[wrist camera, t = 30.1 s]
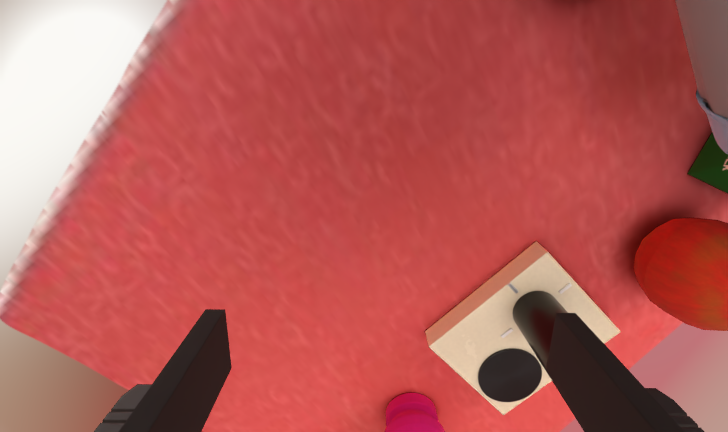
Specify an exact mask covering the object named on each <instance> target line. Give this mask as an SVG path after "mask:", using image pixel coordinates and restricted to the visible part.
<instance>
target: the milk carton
mask: <svg viewBox="0 0 728 432" xmlns="http://www.w3.org/2000/svg"><path fill="white" fill-rule="evenodd" d="M688 174H689V175H691V176H693V177H695V178H697V179H699V180H701V181H703V182H705V183H707V184H709V185H711V186H713V187H715V188H717V189H719V190H722V191H724V192H726V193H728V154H726V153H725V152H724V151H723V150H722V149H721V148H720V147H719V145H718V144H717V142H716V140H715V138H714V135H713V132H712V133H711V135H710V137H709V138H708V140H707V142H706V143H705V145H704V147H703V148H702V150H701V152H700V154H699V155H698V157H697V159H696V160H695V162H694V164H693V165H692V167H691V169H690V170H689V172H688Z"/></svg>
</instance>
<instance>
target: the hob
mask: <svg viewBox="0 0 728 432" xmlns="http://www.w3.org/2000/svg"><path fill="white" fill-rule="evenodd" d="M532 291H544V292H547V293H550V294H551V295H553V296H554V297H555V298H556V300H557V301H558V302H559V303H560V304H561V305H562V306H563V307H564V309H565V310H566V311H567V312H568V313H576V314H577V315H578V316H579V317H580V318H581V319H582V321H583V322H584V323H585V324H586V325H587V326H588V327H589V328H590V329H591V330H592V331H593V332H594V334H595V335H596V336H597V337H598V338H599V339H600V340H601V341H602V342H603V343H606V342H607V341H609V340H610V339H612V338H613V337H614V336H616V335H617V334H619V333H620V332H621V331H620V330H619V329H618V328H617V327H616V326H615V325H614V323H613V322H612V321H611V320H610V319H609V318H608V317H607V316H606V315H605V314H604V313H603V311H602V310H601V309H600V308H599V307H598V306H597V305H596V304H595V303H594V302H593V300H592V299H591V298H590V297H589V296H588V295H587V294H586V293H585V292H584V291H583V290H582V288H581V287H580V286H579V285H578V284H577V283H576V282H575V281H574V280H573V279H572V278H571V276H570V275H569V274H568V273H567V272H566V271H565V270H564V269H563V268H562V267H561V265H560V264H559V263H558V262H557V261H556V260H555V259H554V258H553V257H552V256H551V255H550V253H549V252H548V251H547V250H545V249H544V248H543V247H542V246H541V245H540V244H539V243H538V242H534V243H533V244H532V245H531V246H530V247H528V248H527V249H526V250H525V251H523V252H522V253H521V254H520V255H518V256H517V257H516V258H515V259H513V260H512V261H511V262H510V263H509V264H507V265H506V266H505V267H504V268H502V269H501V270H500V271H499V272H497V273H496V274H495V275H494V276H493V277H491V278H490V279H489V280H488V281H486V282H485V283H484V284H483V285H481V286H480V287H479V288H478V289H477V290H475V291H474V292H473V293H472V294H470V295H469V296H468V297H467V298H465V299H464V300H463V301H462V302H460V303H459V304H458V305H457V306H456V307H454V308H453V309H452V310H451V311H449V312H448V313H447V314H446V315H444V316H443V317H442V318H441V319H440V320H438V321H437V322H436V323H435V324H433V325H432V326H431V327H430V328H428V329H427V330H426V331H425V333H426V338H427V342H428V346H429V348H430V349H431V350H433V351H434V352H435V353H436V354H437V355H438V356H439V357H440V358H441V359H442V360H444V361H445V362H446V363H447V364H448V365H449V366H450V367H451V368H452V369H453V370H454V371H456V372H457V373H458V374H459V375H460V376H461V377H462V378H463V379H464V380H465V381H466V382H468V383H469V384H470V385H471V386H472V387H473V388H474V389H475V390H476V391H477V392H479V393H480V394H481V395H482V396H483V397H484V398H485V399H486V400H487V401H488V402H489V403H491V404H492V405H493V406H494V407H495V408H496V409H497V410H498V411H499V412H500V413H502V414H503V415H505V414H506V413H507V412H509V411H510V410H512V409H513V408H514V407H516V406H517V405H519V404H520V403H521V402H523V401H524V400H526V399H527V398H528V397H530V396H531V395H533V394H534V393H536V392H537V391H538V390H540V389H541V388H543V387H544V386H545V385H547V384H548V383H550V382H551V381H552V379H551V378H550V377H549V375H548V374H547V372H546V371H545V369H544V367H543V366H542V364H541V363H540V361H539V359H538V358H537V356H536V355H535V353H534V352H533V350H532V348H531V347H530V345H529V344H528V342H527V340H526V339H525V337H524V336H523V334H522V332H521V331H520V329H519V328H518V326H517V325H516V323H515V321H514V319H513V308H514V305H515V303H516V302H517V300H518V299H519V298H520V297H522V296H523V295H525V294H527V293H529V292H532ZM509 348H516V349H522V350H525V351H527V352H529V353H531V354H532V355H533V356H535V358H536V359H537V360H538V362H539V363H540V365H541V369H542V378H541V381H540V384H539V386H538V387H537V388H536V390H535V391H534V392H533V393H532V394H530V395H529V396H527V397H526V398H524V399H521V400H519V401H515V402H499V401H496V400H493V399H491V398H489V397H488V396H487V395H485V394H484V393H483V391H482V390H481V388H480V386H479V383H478V372H479V369H480V367H481V365H482V363H483V362H484V361H485V360H486V359H487V358H488V357H489V356H490V355H492V354H493V353H495V352H497V351H500V350H503V349H509Z"/></svg>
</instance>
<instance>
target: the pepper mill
mask: <svg viewBox="0 0 728 432" xmlns="http://www.w3.org/2000/svg"><path fill="white" fill-rule="evenodd" d="M386 426H387V427H386V429H385V432H445V431H444V429H443V427H442V425H441V424H440V423H439V422H438V417H437V413H436V408H435V405H434V404H433V402H432V401H431V400H430V399H429V398H427V397H426V396H424V395H422V394H418V393H405V394H401V395H399V396H397V397H395V398H394V399H393V400H392V401H391V402H390V403H389V404H388V407H387V409H386Z"/></svg>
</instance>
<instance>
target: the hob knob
mask: <svg viewBox="0 0 728 432" xmlns="http://www.w3.org/2000/svg"><path fill="white" fill-rule="evenodd" d="M556 313H568V312H567V311H566V310H565V309H564V307H563V306H562V305H561V304H560V303H559V302H558V301H557V300H556V298H555V297H554V296H553V295H551V294H550V293H547V292H544V291H532V292H529V293H527V294H525V295H523V296H522V297H520V298H519V299H518V300H517V302H516V303H515V305H514V308H513V319H514V321H515V323H516V325H517V326H518V328H519V329H520V331H521V332H522V334H523V336H524V337H525V339H526V340H527V342H528V344H529V345H530V347H531V348H532V350H533V352H534V353H535V355H536V356H537V358H538V359H539V361H540V363H541V364H542V366H543V367H544V369H545V371H546V368H547V363H548V357H549V351H550V345H551V340H552V334H553V328H554V322H555V317H556ZM547 374H548V373H547ZM549 377H550V376H549Z"/></svg>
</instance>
